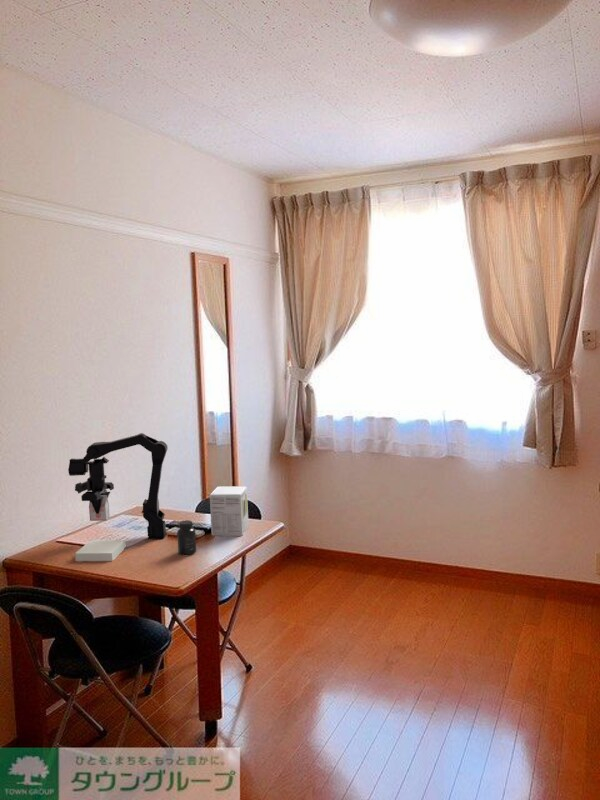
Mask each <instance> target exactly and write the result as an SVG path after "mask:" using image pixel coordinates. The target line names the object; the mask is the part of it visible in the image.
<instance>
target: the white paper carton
mask: <svg viewBox="0 0 600 800" xmlns="http://www.w3.org/2000/svg"><path fill="white" fill-rule="evenodd" d="M100 497H103V500H102V504H101V508H100V512H99V514H96V512H95V510H94V507H93V505H92V503H91V502H90V501H88V502H89V503H88V504H89V505H88V510H89V511H88V512H89V522H95V521H97V522H101V521H102V522H105V521H108V520H109V519H111V517H110V516H111V513H110V503H109V499H107V495H100Z"/></svg>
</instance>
